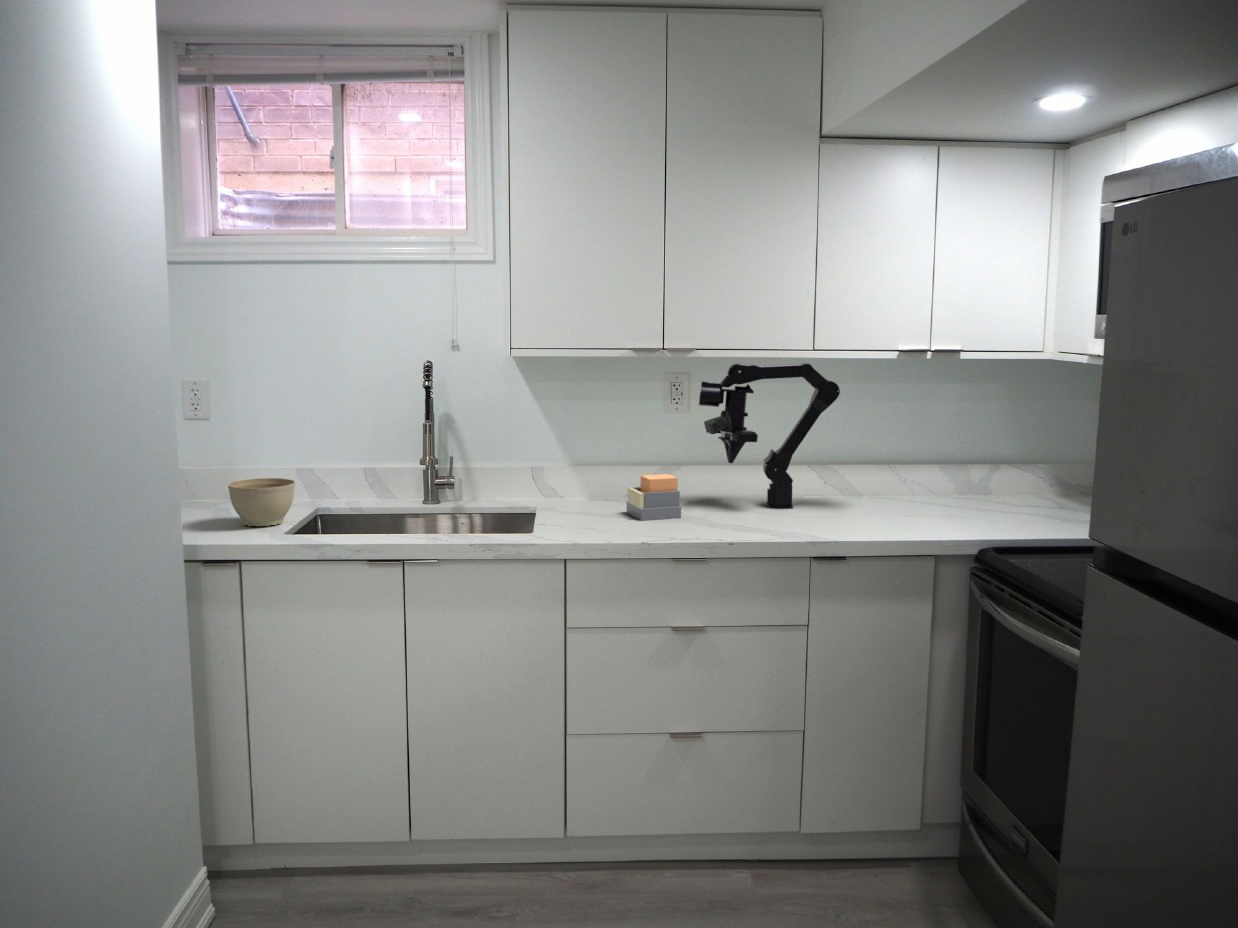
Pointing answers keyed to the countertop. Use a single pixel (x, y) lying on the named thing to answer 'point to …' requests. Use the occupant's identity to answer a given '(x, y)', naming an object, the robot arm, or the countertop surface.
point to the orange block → (658, 483)
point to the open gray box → (653, 504)
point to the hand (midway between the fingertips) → (730, 463)
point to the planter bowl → (262, 500)
